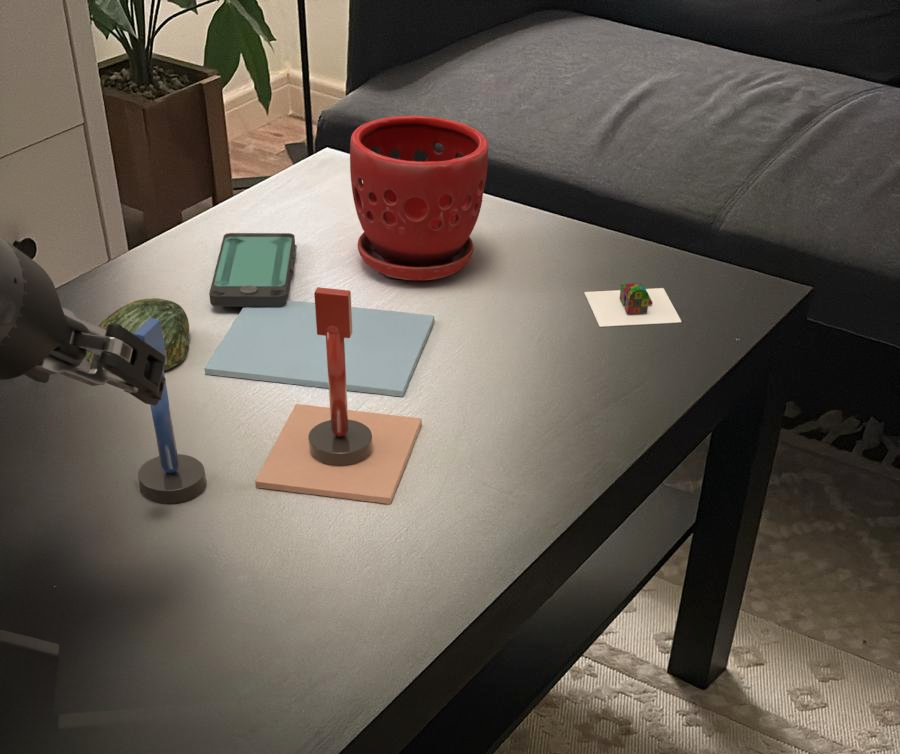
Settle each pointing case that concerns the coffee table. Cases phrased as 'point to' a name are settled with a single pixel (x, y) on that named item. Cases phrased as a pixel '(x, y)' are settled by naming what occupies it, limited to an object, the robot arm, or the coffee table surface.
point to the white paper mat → (632, 306)
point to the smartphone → (253, 269)
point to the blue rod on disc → (167, 444)
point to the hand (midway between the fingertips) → (100, 379)
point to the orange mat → (358, 481)
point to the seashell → (171, 323)
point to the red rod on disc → (337, 386)
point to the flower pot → (417, 194)
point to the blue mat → (322, 348)
